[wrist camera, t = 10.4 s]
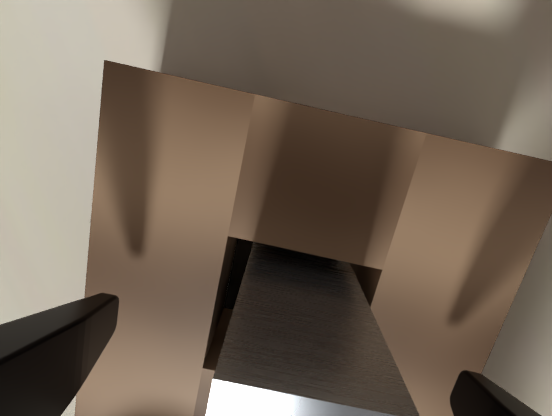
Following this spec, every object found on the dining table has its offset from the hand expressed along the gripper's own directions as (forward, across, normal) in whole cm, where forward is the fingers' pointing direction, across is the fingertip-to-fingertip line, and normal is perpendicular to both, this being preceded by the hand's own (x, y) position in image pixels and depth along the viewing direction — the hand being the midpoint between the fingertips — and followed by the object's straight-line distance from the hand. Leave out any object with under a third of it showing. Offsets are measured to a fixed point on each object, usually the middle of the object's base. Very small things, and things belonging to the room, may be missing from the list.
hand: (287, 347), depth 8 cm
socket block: (+5, 0, 0) cm, 5 cm away
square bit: (+5, 0, 0) cm, 5 cm away
